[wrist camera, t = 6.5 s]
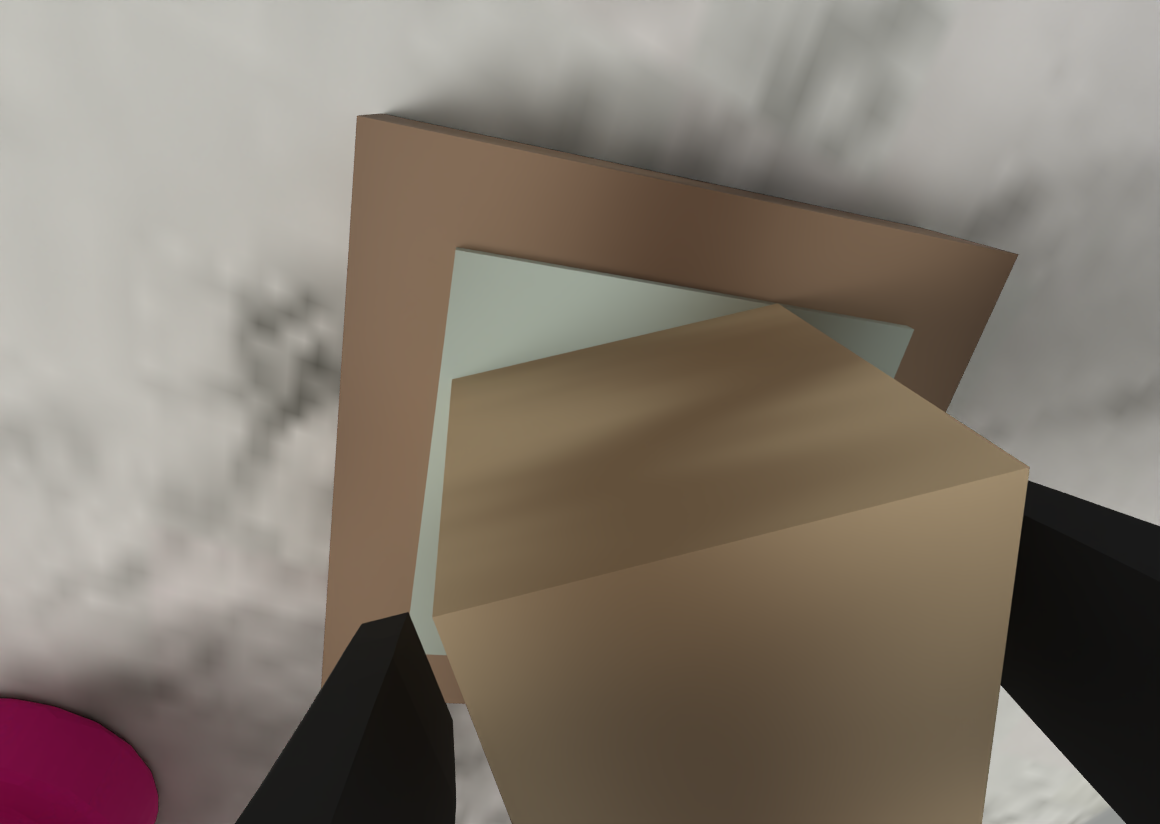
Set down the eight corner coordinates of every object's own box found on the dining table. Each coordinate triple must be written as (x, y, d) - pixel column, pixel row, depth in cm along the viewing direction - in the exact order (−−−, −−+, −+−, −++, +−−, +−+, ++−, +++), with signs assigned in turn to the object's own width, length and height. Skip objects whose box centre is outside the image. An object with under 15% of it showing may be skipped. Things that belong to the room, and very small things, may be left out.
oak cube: (777, 303, 10) (1029, 467, 5) (792, 562, 12) (981, 831, 8) (451, 379, 10) (432, 616, 5) (527, 629, 12) (559, 947, 7)
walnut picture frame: (921, 227, 13) (1028, 256, 10) (761, 630, 16) (811, 721, 14) (382, 113, 10) (354, 116, 8) (344, 606, 14) (318, 707, 12)
